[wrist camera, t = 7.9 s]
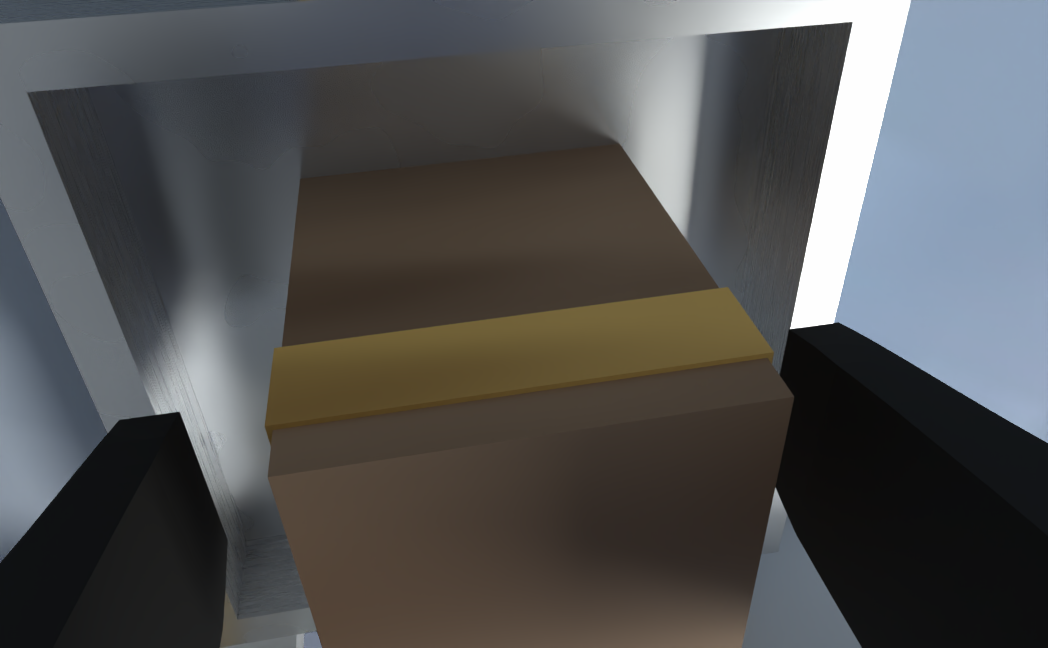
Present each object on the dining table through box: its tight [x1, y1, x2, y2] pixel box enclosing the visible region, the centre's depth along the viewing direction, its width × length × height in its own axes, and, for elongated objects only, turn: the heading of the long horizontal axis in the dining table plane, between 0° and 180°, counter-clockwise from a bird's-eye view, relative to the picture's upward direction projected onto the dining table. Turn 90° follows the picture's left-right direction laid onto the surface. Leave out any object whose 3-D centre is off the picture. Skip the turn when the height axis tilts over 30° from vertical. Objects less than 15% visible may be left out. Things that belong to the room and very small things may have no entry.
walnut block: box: [265, 144, 794, 648], centre depth 9 cm, size 4×4×5 cm
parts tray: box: [0, 0, 911, 648], centre depth 11 cm, size 9×9×2 cm
